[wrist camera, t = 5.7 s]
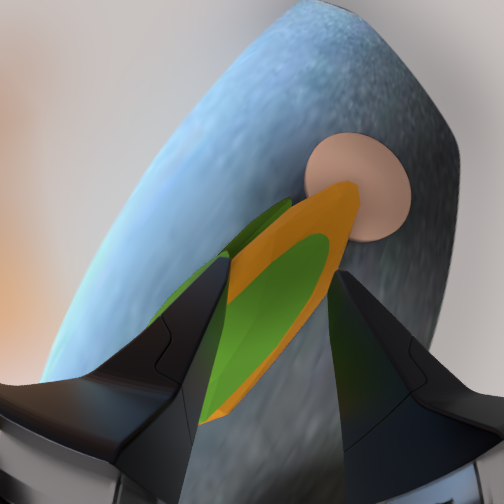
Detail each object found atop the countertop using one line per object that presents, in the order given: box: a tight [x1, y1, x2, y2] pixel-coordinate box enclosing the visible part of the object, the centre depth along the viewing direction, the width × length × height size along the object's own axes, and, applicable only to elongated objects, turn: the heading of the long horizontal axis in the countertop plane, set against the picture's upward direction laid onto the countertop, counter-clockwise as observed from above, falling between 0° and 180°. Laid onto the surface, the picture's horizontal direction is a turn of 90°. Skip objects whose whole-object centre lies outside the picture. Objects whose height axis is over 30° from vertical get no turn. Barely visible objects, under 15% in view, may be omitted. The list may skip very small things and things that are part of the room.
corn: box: [146, 180, 360, 425], centre depth 17 cm, size 7×8×20 cm
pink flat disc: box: [303, 133, 411, 243], centre depth 22 cm, size 9×9×1 cm
